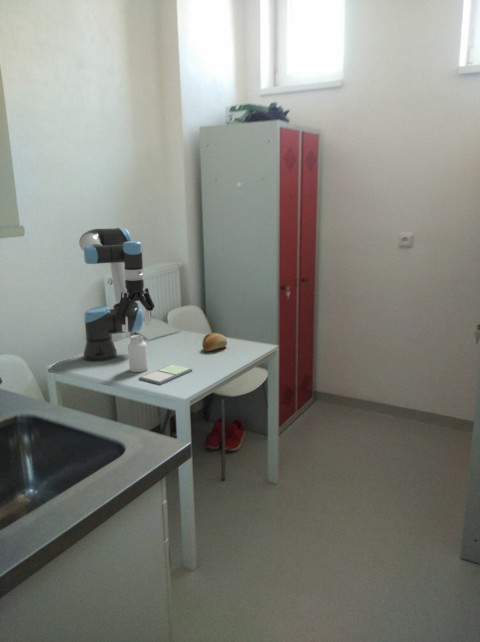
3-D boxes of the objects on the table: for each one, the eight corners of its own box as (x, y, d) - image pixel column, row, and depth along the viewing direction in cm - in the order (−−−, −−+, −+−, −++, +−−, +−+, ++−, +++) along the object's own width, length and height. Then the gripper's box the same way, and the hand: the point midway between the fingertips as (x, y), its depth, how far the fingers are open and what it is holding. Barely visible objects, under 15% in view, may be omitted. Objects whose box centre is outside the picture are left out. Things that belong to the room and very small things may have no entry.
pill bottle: (139, 365, 226) (138, 333, 222) (151, 369, 221) (150, 336, 218) (125, 370, 220) (123, 336, 217) (137, 373, 215) (135, 339, 212)
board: (138, 379, 208) (138, 376, 208) (171, 366, 225) (171, 363, 224) (160, 384, 202) (160, 382, 202) (192, 371, 218) (192, 368, 218)
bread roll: (196, 351, 247) (196, 335, 246) (216, 344, 259) (216, 329, 257) (211, 354, 242) (211, 338, 240) (231, 347, 253) (231, 331, 251)
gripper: (118, 284, 199) (121, 336, 204) (161, 275, 219) (163, 323, 224) (105, 282, 203) (108, 333, 208) (148, 274, 223) (150, 321, 228)
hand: (137, 328), depth 216 cm, fingers open, 13 cm apart
